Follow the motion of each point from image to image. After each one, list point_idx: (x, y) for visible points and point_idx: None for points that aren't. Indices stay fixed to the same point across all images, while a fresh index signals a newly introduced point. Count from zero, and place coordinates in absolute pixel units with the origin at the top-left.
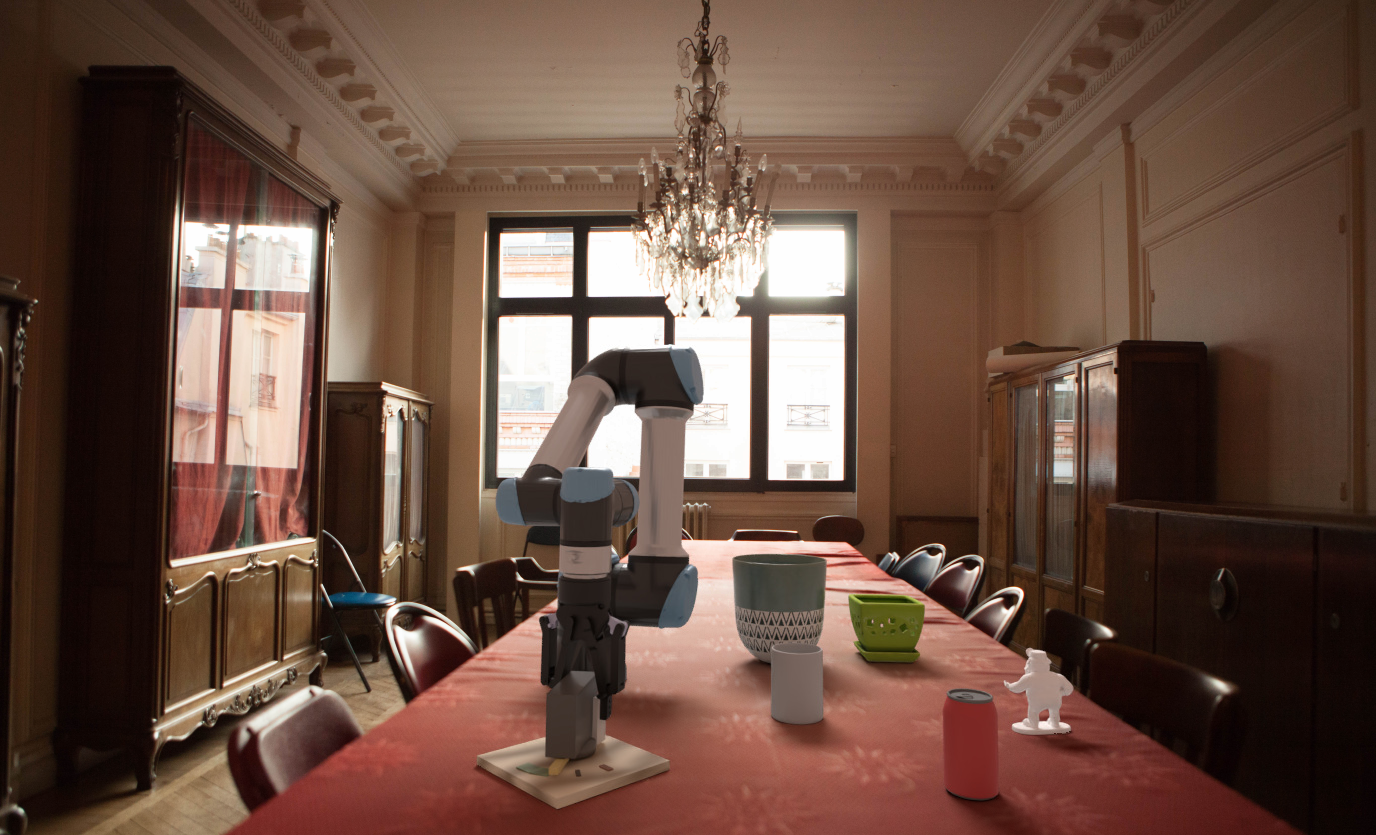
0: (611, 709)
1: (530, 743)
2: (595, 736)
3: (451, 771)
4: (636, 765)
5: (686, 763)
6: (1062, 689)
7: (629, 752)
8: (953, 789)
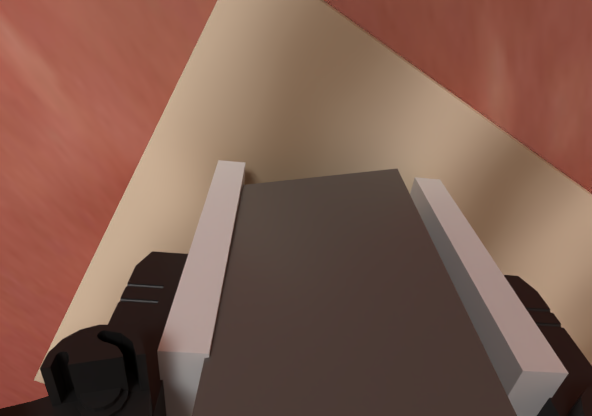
0: (553, 315)
1: (121, 260)
2: None
3: (23, 396)
4: (582, 341)
5: None
6: None
7: (557, 253)
8: None
